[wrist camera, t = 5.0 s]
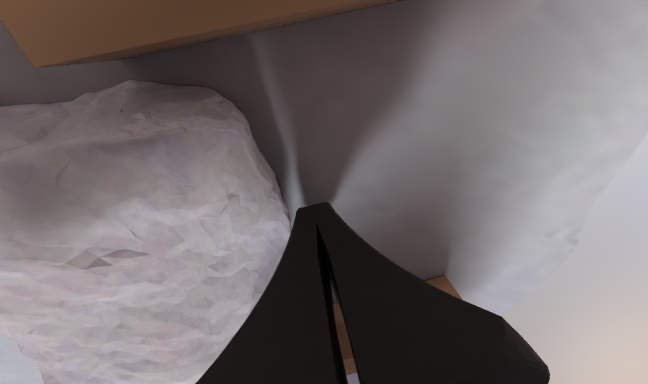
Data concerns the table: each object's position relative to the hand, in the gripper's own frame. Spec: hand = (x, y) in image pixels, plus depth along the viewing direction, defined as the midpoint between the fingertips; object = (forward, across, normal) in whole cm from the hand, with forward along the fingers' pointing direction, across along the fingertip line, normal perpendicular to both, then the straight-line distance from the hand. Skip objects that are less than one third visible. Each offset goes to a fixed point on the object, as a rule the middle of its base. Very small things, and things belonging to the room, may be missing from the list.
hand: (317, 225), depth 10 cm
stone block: (+2, +6, 0) cm, 6 cm away
